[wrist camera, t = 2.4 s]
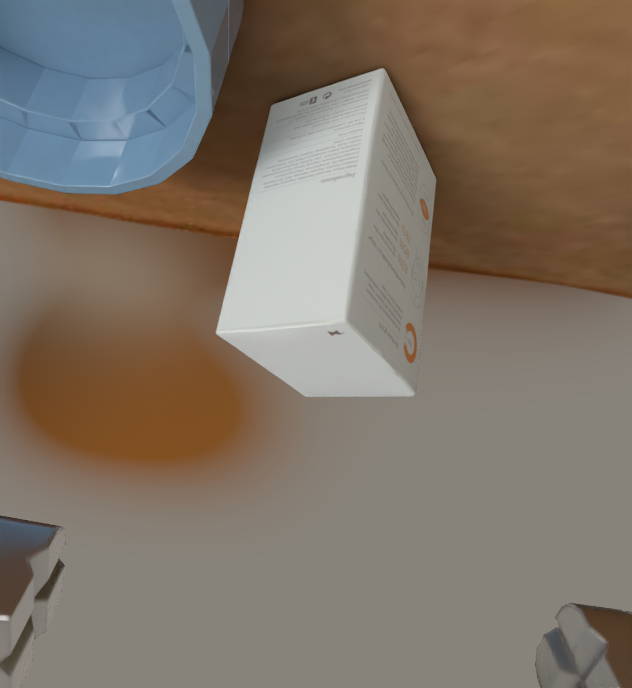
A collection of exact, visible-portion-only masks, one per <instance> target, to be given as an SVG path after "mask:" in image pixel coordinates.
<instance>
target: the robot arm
mask: <svg viewBox="0 0 632 688" xmlns="http://www.w3.org/2000/svg"><path fill="white" fill-rule="evenodd" d="M65 531H66V529H65V528H64V527H60V526H55V525H50V524H44V523H39V522H33V521H28V520H22V519H17V518H11V517H5V516H0V688H20V687H21V685H22V683H23V681H24V679H25V677H26V674H27V672H28V670H29V668H30V666H31V663H32V661H33V645H34V644H33V643H34V639H36V638H37V637H38V636H40V635H41V634H43V633H44V632H45V631H47V629H48V626H49V624H50V622H51V619H52V617H53V615H54V613H55V610H56V606H57V603H58V600H59V597H60V594H61V590H62V584H63V580H64V567H65V565H64V564H63V563H62V562H61V561H60V559H59V557H60V555H61V553H62V551H63V549H64V546H65V544H66V532H65ZM555 618H556V621H557V625H558V627H557V628H555V629H553V630H551V631H550V632H548V633H546V634H545V635H544V636H543V637H542V639H541V641H540V643H539V645H538V647H537V651H536V662H535V666H536V673H537V679H538V682H539V684H540V687H541V688H632V612H629V611H622V610H618V609H611V608H603V607H596V606H588V605H581V604H574V603H569V604H567V605H565V606H563V607H561V609H560V610H559V612H558V613H557V615H556V617H555Z"/></svg>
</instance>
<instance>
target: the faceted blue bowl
mask: <svg viewBox="0 0 632 688" xmlns="http://www.w3.org/2000/svg"><path fill="white" fill-rule="evenodd" d="M243 5H244V0H0V177H1V178H3V179H6V180H10V181H13V182H18V183H22V184H27V185H31V186H36V187H40V188H45V189H49V190H54V191H58V192H63V193H76V194H121V193H125V192H129V191H133V190H137V189H141V188H145V187H149V186H152V185H156V184H159V183H162V182H163V181H164V180H165V179H167V178H168V177H169V176H171V175H172V174H173V173H175V172H176V171H177V170H179V169H180V168H181V167H183V166H184V165H185V164H186V163H188V162H189V161H190V160H192V159H193V157H194V155H195V153H196V151H197V149H198V147H199V144H200V142H201V140H202V138H203V135H204V133H205V131H206V129H207V127H208V124H209V122H210V120H211V118H212V115H213V111H214V108H215V105H216V102H217V98H218V95H219V92H220V89H221V86H222V82H223V79H224V76H225V73H226V69H227V65H228V63H229V59H230V56H231V53H232V50H233V46H234V43H235V40H236V37H237V34H238V30H239V27H240V24H241V21H242V17H243Z"/></svg>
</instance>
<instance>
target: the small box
mask: <svg viewBox="0 0 632 688" xmlns="http://www.w3.org/2000/svg"><path fill="white" fill-rule="evenodd" d="M435 189H436V177H435V175H434V173H433V171H432V169H431V166H430V164H429V162H428V160H427V157H426V155H425V153H424V151H423V149H422V147H421V145H420V143H419V140H418V138H417V136H416V134H415V131H414V129H413V127H412V125H411V123H410V121H409V119H408V116H407V114H406V112H405V110H404V108H403V106H402V104H401V102H400V99H399V97H398V95H397V93H396V91H395V89H394V87H393V85H392V83H391V80H390V78H389V76H388V74H387V72H386V70H385V69H384V68H383V69H378V70H375V71H372V72H368V73H365V74H362V75H359V76H356V77H353V78H350V79H347V80H344V81H341V82H338V83H335V84H332V85H329V86H326V87H323V88H320V89H317V90H314V91H311V92H308V93H305V94H302V95H299V96H296V97H293V98H290V99H287V100H285V101H282V102H279V103H275V104H273V105H272V106H271V108H270V112H269V116H268V120H267V125H266V128H265V132H264V137H263V141H262V145H261V149H260V153H259V158H258V161H257V165H256V169H255V173H254V177H253V181H252V186H251V190H250V194H249V198H248V202H247V206H246V211H245V215H244V219H243V223H242V227H241V231H240V235H239V239H238V243H237V247H236V252H235V256H234V260H233V264H232V268H231V273H230V277H229V280H228V285H227V289H226V293H225V297H224V301H223V305H222V310H221V314H220V317H219V321H218V325H217V330H216V334H217V335H219V336H220V337H221V338H223V339H224V340H226V341H227V342H229V343H230V344H232V345H233V346H235V347H236V348H238V349H239V350H240V351H242V352H243V353H244V354H246V355H247V356H249V357H250V358H252V359H253V360H255V361H256V362H257V363H259V364H260V365H262V366H263V367H264V368H266V369H267V370H269V371H270V372H272V373H273V374H274V375H276V376H277V377H279V378H280V379H282V380H283V381H285V382H286V383H287V384H289V385H290V386H291V387H293V388H294V389H296V390H297V391H298V392H300V393H301V394H303V395H304V396H306V397H377V396H414V395H415V394H416V389H417V379H418V369H419V358H420V347H421V336H422V326H423V315H424V305H425V293H426V284H427V274H428V262H429V250H430V239H431V229H432V219H433V209H434V199H435Z"/></svg>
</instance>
